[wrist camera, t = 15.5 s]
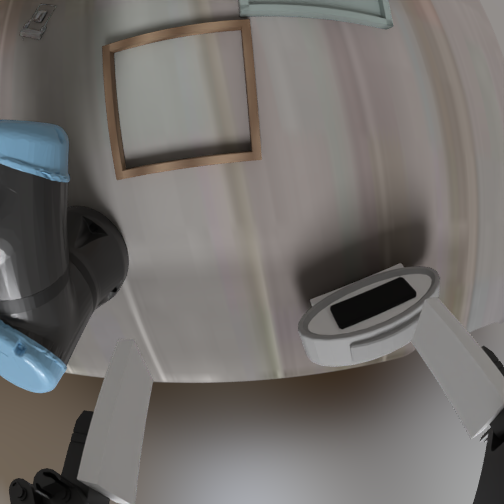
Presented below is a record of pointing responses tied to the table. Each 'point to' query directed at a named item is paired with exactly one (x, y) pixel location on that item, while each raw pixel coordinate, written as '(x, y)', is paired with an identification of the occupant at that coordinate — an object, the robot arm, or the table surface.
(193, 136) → the table surface
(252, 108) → the frame
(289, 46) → the table surface
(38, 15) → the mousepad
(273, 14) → the tray
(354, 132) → the table surface
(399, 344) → the alarm clock
